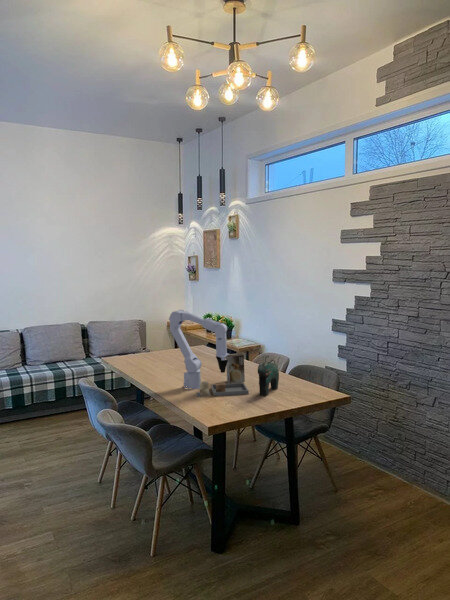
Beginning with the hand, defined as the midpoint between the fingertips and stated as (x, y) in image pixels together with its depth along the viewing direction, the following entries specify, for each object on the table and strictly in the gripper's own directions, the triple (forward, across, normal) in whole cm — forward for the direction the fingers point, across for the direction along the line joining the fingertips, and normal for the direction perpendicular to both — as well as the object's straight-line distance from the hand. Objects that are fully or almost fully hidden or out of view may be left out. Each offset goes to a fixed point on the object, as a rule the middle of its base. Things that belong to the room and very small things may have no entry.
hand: (222, 370), depth 240 cm
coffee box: (+10, +13, -9) cm, 19 cm away
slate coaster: (+10, -9, +11) cm, 17 cm away
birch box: (+10, -9, +10) cm, 17 cm away
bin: (+10, -6, -3) cm, 12 cm away
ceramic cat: (+10, -11, -23) cm, 28 cm away
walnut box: (+10, -9, +2) cm, 13 cm away
